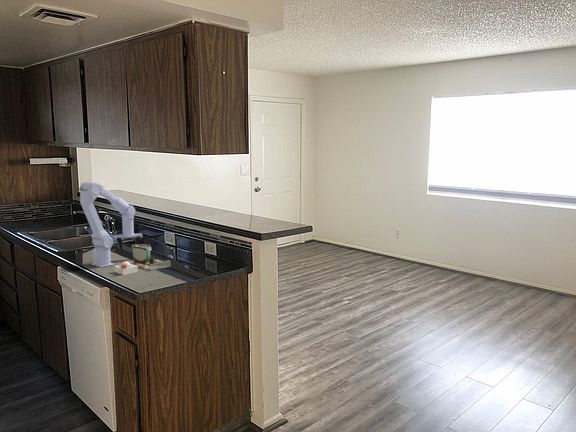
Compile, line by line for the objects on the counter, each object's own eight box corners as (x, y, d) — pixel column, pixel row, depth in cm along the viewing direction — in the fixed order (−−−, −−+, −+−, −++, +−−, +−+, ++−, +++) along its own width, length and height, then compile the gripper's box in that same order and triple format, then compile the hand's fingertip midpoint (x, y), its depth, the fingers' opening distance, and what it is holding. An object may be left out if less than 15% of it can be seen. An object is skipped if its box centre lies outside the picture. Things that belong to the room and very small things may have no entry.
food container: (156, 264, 255) (156, 245, 254) (147, 266, 250) (147, 247, 248) (141, 261, 262) (140, 243, 260) (132, 263, 256) (131, 244, 255)
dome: (118, 270, 238) (118, 261, 237) (127, 269, 242) (127, 259, 241) (124, 272, 235) (124, 263, 234) (133, 270, 239) (132, 261, 238)
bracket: (135, 265, 251) (134, 260, 250) (154, 262, 260) (154, 256, 260) (151, 270, 242) (150, 264, 242) (170, 266, 251) (170, 260, 251)
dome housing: (114, 272, 238) (113, 262, 237) (128, 269, 244) (128, 259, 243) (123, 275, 233) (123, 265, 232) (137, 271, 239) (137, 262, 238)
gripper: (114, 228, 256) (115, 253, 257) (143, 227, 262) (143, 251, 264) (113, 226, 262) (114, 251, 264) (140, 225, 268) (141, 248, 270)
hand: (128, 251), depth 264 cm, fingers open, 7 cm apart
